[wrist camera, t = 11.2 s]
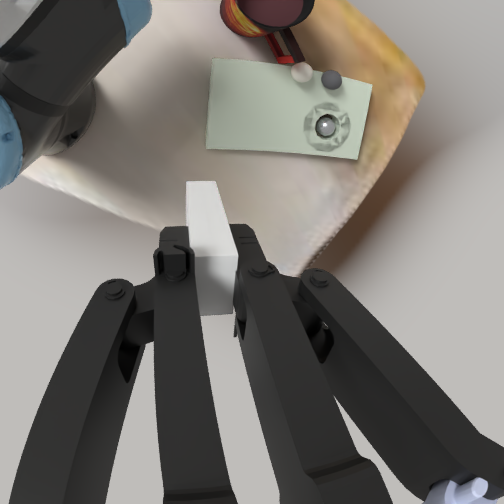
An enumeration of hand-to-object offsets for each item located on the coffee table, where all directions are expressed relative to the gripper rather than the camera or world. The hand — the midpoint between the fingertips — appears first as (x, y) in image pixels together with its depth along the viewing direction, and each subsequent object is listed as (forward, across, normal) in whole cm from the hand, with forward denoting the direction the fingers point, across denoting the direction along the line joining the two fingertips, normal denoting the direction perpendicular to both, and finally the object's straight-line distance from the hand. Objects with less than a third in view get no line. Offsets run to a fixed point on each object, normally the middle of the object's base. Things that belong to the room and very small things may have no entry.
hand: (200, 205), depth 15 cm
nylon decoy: (+28, +16, +8) cm, 33 cm away
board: (+32, +16, +2) cm, 36 cm away
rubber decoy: (+28, +20, +8) cm, 36 cm away
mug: (+33, +10, +17) cm, 38 cm away
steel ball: (+31, +22, 0) cm, 38 cm away
